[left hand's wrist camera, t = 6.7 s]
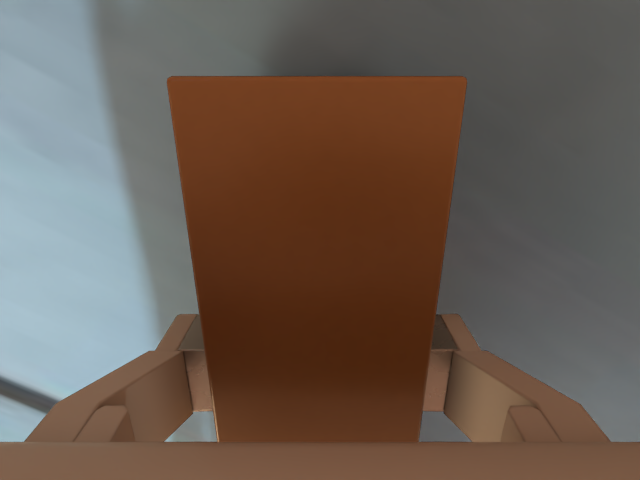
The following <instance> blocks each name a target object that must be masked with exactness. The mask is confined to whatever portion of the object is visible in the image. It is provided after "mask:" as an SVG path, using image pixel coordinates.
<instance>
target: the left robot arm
mask: <svg viewBox="0 0 640 480" xmlns="http://www.w3.org/2000/svg"><path fill="white" fill-rule="evenodd" d="M195 411H213V407H212V400H211V393H210V386H209V379H208V372H207V365H206V357H205V350H204V343H203V336H202V329H201V322H200V315H198V314H180V315H177V316H176V318H175V319H174V321H173V323H172V324H171V326H170V327H169V329H168V331H167V332H166V334H165V335H164V337H163V339H162V340H161V342H160V343H159V345H158V347H157V348H156V350H155V351H148V352H146V353H144V354H143V355H141V356H139V357H137V358H136V359H134V360H132V361H130V362H129V363H127V364H125V365H123V366H122V367H120V368H118V369H116V370H114V371H113V372H111V373H109V374H107V375H106V376H104V377H102V378H100V379H99V380H97V381H95V382H93V383H91V384H90V385H88V386H86V387H84V388H83V389H81V390H79V391H77V392H76V393H74V394H72V395H70V396H69V397H67V398H65V399H63V400H61V401H60V402H58V403H56V404H55V405H54V406H53V408H52V409H51V410H50V411H49V412H48V414H47V415H46V416H45V417H44V418H43V420H42V421H41V422H40V423H39V424H38V426H37V427H36V428H35V429H34V430H33V432H32V433H31V434H30V435H29V436H28V438H27V439H26V440H25V441H24V442H0V480H640V442H611V441H610V440H609V439H608V437H607V436H606V435H605V434H604V433H603V431H602V430H601V429H600V428H599V426H598V425H597V424H596V423H595V421H594V420H593V419H592V418H591V417H590V415H589V414H588V413H587V412H586V410H585V409H584V408H583V407H582V406H581V404H579V403H577V402H576V401H574V400H572V399H570V398H569V397H567V396H565V395H563V394H562V393H560V392H558V391H556V390H555V389H553V388H551V387H549V386H548V385H546V384H544V383H542V382H541V381H539V380H537V379H535V378H534V377H532V376H530V375H528V374H527V373H525V372H523V371H521V370H520V369H518V368H516V367H514V366H513V365H511V364H509V363H507V362H506V361H504V360H502V359H501V358H499V357H497V356H495V355H494V354H492V353H490V352H488V351H481V349H480V348H479V346H478V344H477V343H476V341H475V340H474V338H473V336H472V335H471V333H470V332H469V330H468V328H467V327H466V325H465V323H464V322H463V320H462V319H461V317H460V315H458V314H438V315H436V317H435V324H434V331H433V339H432V346H431V354H430V361H429V368H428V376H427V383H426V391H425V398H424V405H423V411H441V412H444V414H445V415H446V416H447V417H448V418H449V419H450V420H451V421H452V422H453V423H454V424H455V425H456V426H457V427H458V428H459V429H460V430H461V431H462V432H463V433H464V434H465V435H466V436H467V437H468V438H469V439H470V440H471V441H472V442H164V441H165V440H166V439H167V438H168V437H169V436H170V435H171V434H172V433H173V432H174V431H175V430H176V429H177V428H178V427H179V426H180V425H182V424H183V423H184V422H185V421H186V420H187V419H188V418H189V417H190V416H191V415H192V414H193V412H195Z"/></svg>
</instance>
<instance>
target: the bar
mask: <svg viewBox="0 0 640 480" xmlns="http://www.w3.org/2000/svg"><path fill="white" fill-rule="evenodd" d="M466 87H467V80H466V78H465V77H463V76H171V77H169V78H168V79H167V88H168V95H169V102H170V109H171V116H172V123H173V130H174V137H175V144H176V152H177V159H178V166H179V173H180V180H181V187H182V194H183V201H184V208H185V215H186V223H187V230H188V237H189V244H190V251H191V258H192V265H193V272H194V279H195V286H196V294H197V301H198V308H199V315H200V322H201V329H202V336H203V343H204V350H205V357H206V365H207V372H208V379H209V386H210V393H211V400H212V407H213V414H214V421H215V428H216V436H217V442H419V435H420V428H421V420H422V413H423V405H424V398H425V391H426V383H427V376H428V368H429V361H430V354H431V346H432V339H433V331H434V324H435V317H436V309H437V302H438V294H439V287H440V280H441V272H442V265H443V257H444V250H445V243H446V235H447V228H448V220H449V213H450V206H451V198H452V191H453V183H454V176H455V169H456V161H457V154H458V146H459V139H460V131H461V124H462V117H463V109H464V102H465V94H466Z"/></svg>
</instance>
